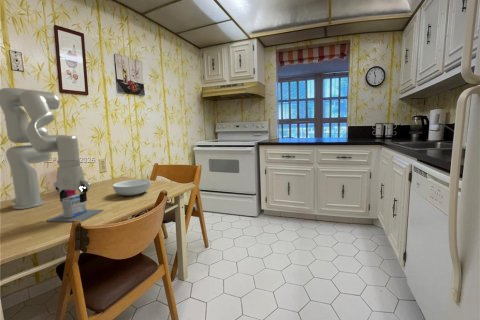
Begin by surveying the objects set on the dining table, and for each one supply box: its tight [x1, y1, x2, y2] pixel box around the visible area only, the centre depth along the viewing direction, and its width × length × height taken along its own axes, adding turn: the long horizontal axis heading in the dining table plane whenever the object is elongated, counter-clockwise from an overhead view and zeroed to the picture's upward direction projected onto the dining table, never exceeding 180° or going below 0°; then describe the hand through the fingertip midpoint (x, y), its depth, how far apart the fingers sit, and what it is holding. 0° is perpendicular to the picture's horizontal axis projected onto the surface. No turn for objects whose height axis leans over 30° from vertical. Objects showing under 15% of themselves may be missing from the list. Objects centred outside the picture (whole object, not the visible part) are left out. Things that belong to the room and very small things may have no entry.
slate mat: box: [45, 209, 104, 223], centre depth 107 cm, size 16×14×1 cm
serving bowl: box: [112, 178, 152, 197], centre depth 142 cm, size 21×21×7 cm
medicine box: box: [61, 193, 87, 218], centre depth 106 cm, size 8×4×9 cm, turn 171°
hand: (73, 201), depth 106 cm, fingers open, 9 cm apart
